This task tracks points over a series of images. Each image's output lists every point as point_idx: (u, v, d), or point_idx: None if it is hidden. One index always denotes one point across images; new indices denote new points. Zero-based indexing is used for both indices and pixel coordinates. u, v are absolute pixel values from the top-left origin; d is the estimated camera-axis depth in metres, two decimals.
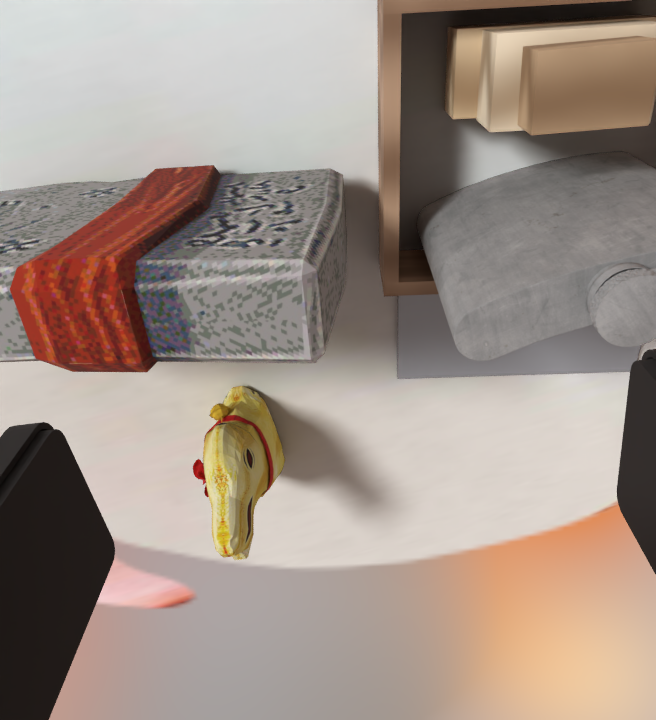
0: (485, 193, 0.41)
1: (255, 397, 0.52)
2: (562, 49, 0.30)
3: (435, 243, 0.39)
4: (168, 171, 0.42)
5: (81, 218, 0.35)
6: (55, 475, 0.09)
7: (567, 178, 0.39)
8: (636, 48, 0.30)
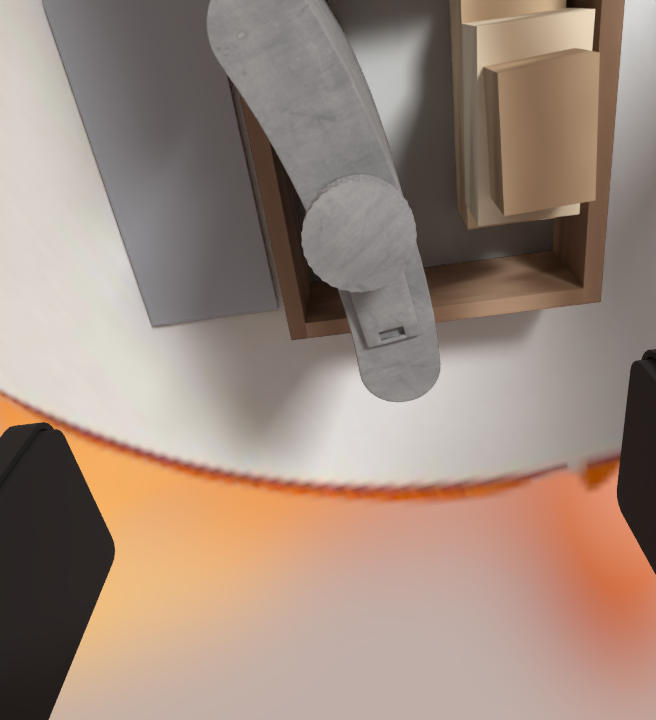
0: (359, 67, 0.32)
1: None
2: (597, 84, 0.25)
3: None
4: None
5: None
6: (55, 475, 0.09)
7: None
8: (588, 174, 0.26)
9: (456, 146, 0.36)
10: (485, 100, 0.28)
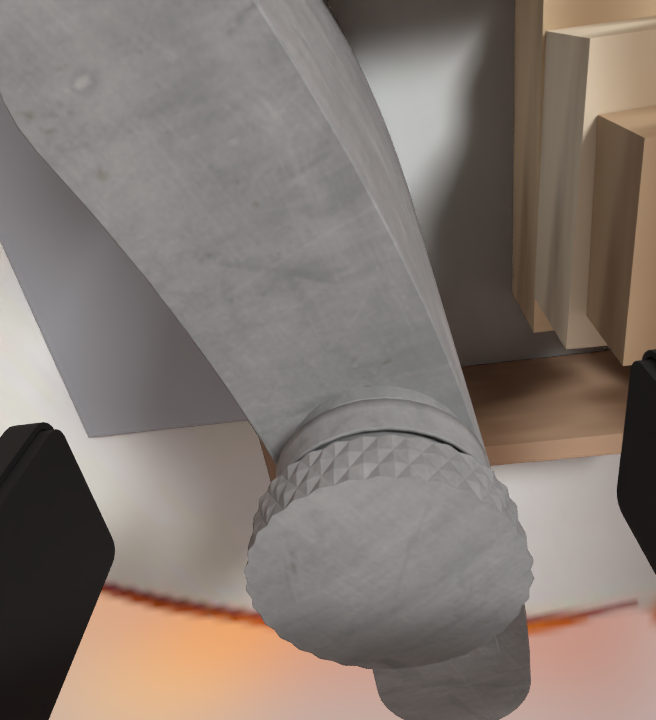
0: (372, 99, 0.20)
1: None
2: None
3: None
4: None
5: None
6: (55, 475, 0.09)
7: None
8: None
9: (515, 208, 0.25)
10: (595, 169, 0.17)
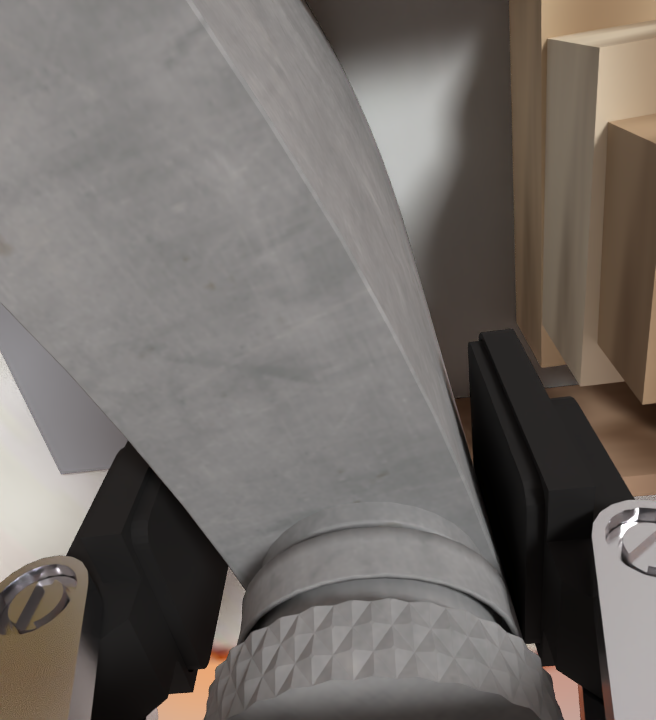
0: (363, 119, 0.19)
1: None
2: None
3: None
4: None
5: None
6: None
7: (419, 277, 0.19)
8: None
9: (517, 234, 0.23)
10: (605, 183, 0.15)
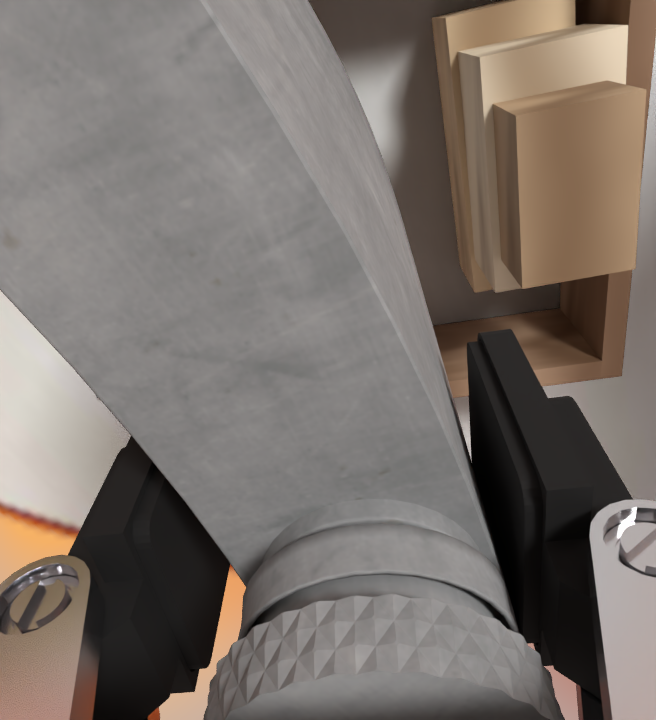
0: (364, 119, 0.19)
1: None
2: (642, 128, 0.19)
3: None
4: None
5: None
6: None
7: None
8: (628, 238, 0.21)
9: (453, 195, 0.30)
10: (495, 144, 0.22)
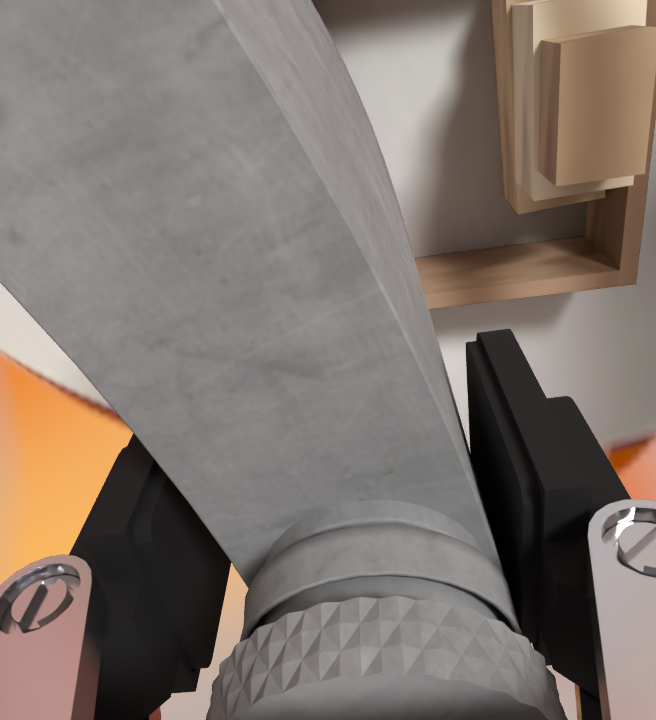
0: (366, 119, 0.19)
1: None
2: None
3: None
4: None
5: None
6: None
7: None
8: (640, 147, 0.27)
9: (501, 135, 0.37)
10: (540, 73, 0.29)
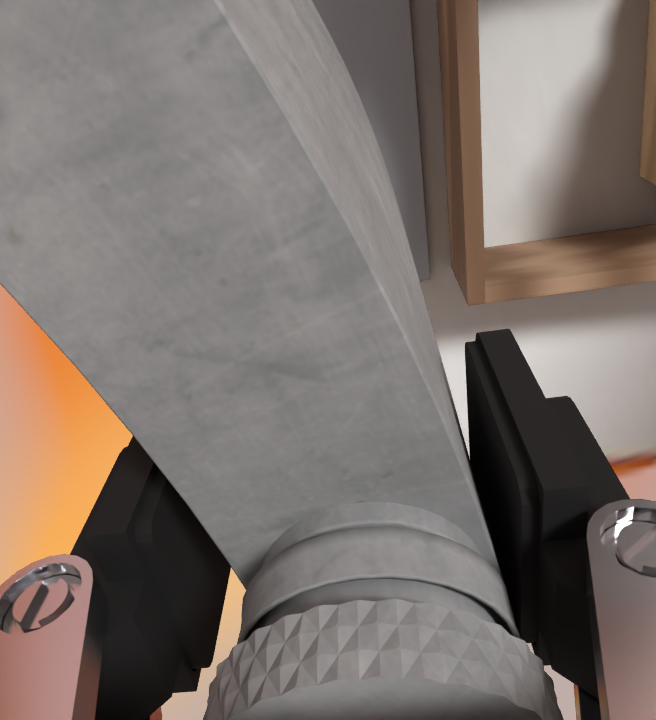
0: (366, 119, 0.19)
1: None
2: None
3: None
4: None
5: None
6: None
7: None
8: None
9: (646, 107, 0.35)
10: None
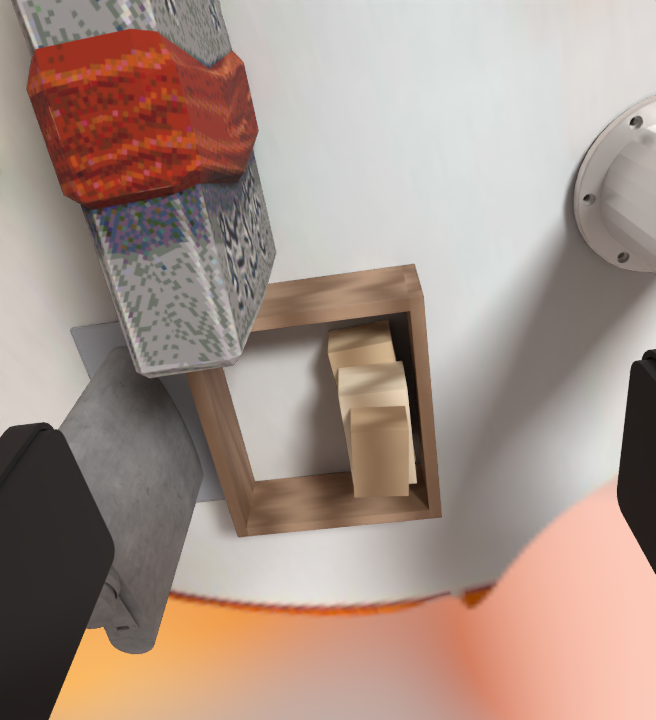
0: (157, 406, 0.50)
1: None
2: (408, 444, 0.42)
3: (107, 398, 0.44)
4: (246, 84, 0.39)
5: (198, 35, 0.30)
6: (55, 475, 0.09)
7: (177, 464, 0.51)
8: (404, 483, 0.44)
9: None
10: None
